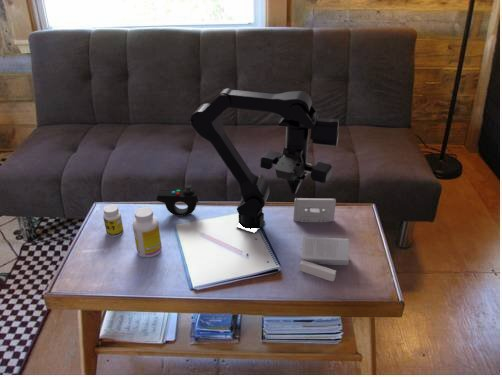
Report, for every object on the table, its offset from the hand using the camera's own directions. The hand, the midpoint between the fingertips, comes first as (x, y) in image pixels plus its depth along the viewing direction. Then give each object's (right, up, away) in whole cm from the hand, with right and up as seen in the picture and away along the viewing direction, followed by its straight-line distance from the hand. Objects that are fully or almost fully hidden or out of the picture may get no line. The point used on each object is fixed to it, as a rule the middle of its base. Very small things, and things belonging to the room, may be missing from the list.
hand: (294, 193), depth 127 cm
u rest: (+7, -18, -5) cm, 20 cm away
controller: (-34, -7, +15) cm, 37 cm away
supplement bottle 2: (-40, -16, 0) cm, 43 cm away
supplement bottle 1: (-51, -11, +7) cm, 53 cm away
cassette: (+7, -8, +12) cm, 16 cm away
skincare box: (+1, -15, -5) cm, 16 cm away
